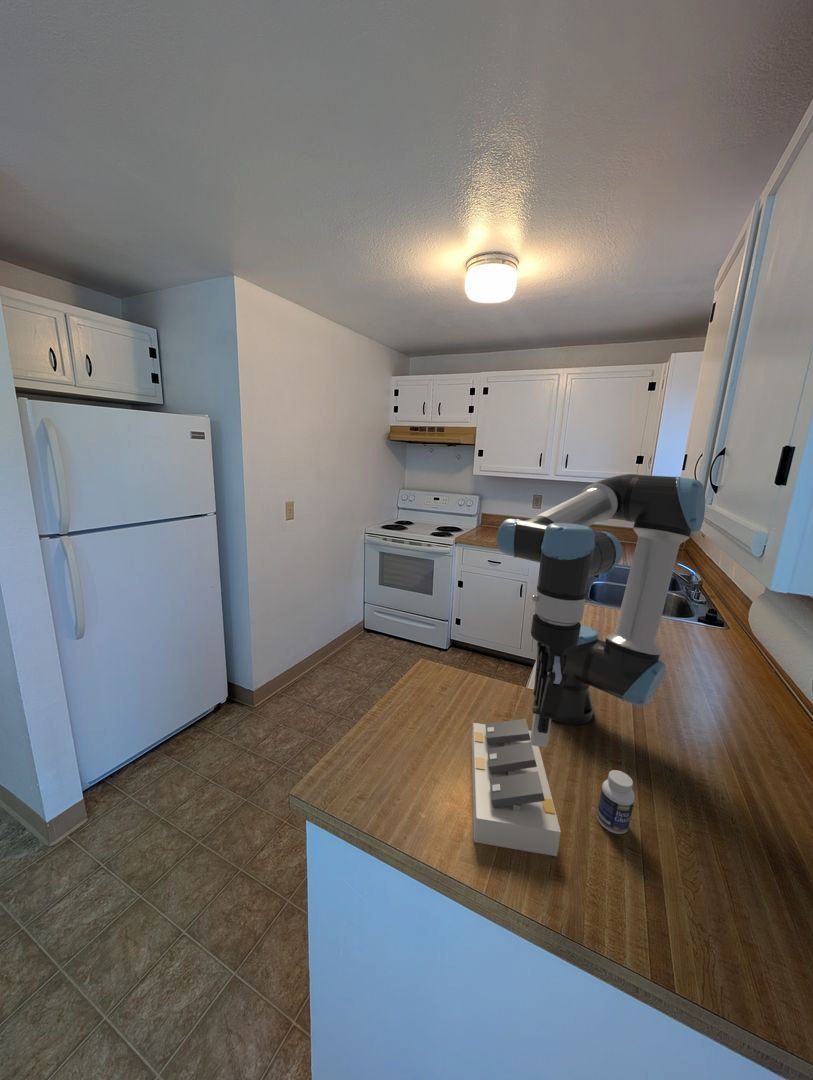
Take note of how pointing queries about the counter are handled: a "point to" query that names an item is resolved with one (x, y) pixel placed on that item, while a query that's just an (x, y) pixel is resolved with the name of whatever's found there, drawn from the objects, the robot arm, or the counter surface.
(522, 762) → the block
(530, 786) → the block
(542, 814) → the switch unit
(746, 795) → the counter surface
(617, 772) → the pill bottle
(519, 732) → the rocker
